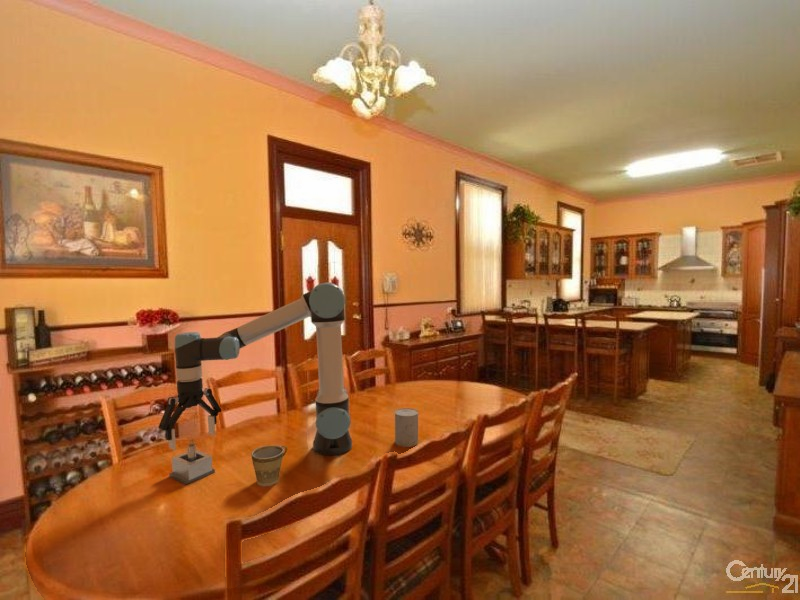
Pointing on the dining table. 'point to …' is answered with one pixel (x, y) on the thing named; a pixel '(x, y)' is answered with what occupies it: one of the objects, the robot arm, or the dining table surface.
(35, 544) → the dining table surface
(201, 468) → the grey block with hole
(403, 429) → the gray cylinder
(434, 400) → the dining table surface
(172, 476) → the keeper
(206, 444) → the dining table surface
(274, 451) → the ceramic cup
